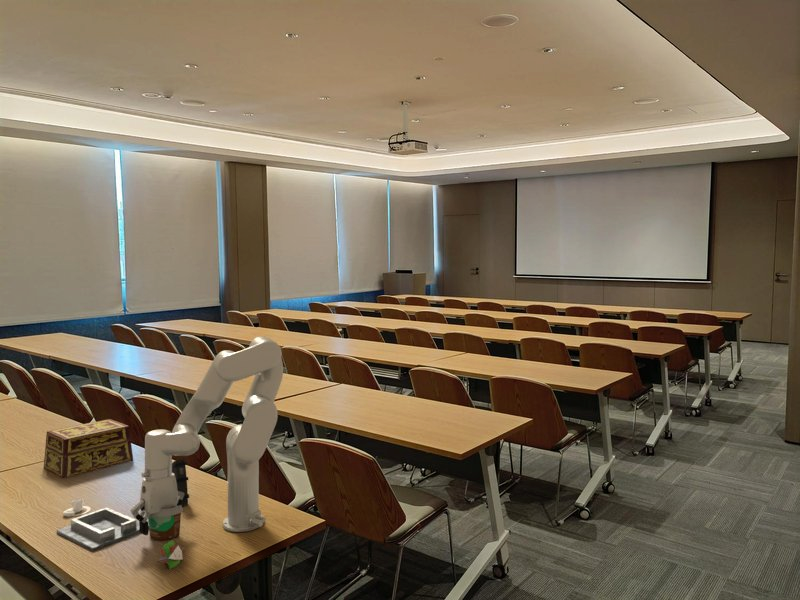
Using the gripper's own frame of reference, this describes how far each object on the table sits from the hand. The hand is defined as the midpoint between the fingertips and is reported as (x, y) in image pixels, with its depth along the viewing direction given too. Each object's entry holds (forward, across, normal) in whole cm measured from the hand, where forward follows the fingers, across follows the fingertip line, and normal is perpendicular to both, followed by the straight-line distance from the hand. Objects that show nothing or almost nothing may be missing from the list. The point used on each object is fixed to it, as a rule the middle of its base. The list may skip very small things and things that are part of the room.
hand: (158, 528), depth 179 cm
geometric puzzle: (+3, -8, -17) cm, 19 cm away
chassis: (+3, -7, +18) cm, 19 cm away
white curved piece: (+4, -6, +41) cm, 42 cm away
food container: (+3, 0, 0) cm, 3 cm away
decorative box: (+4, +23, +81) cm, 84 cm away
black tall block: (+3, +21, +20) cm, 29 cm away
